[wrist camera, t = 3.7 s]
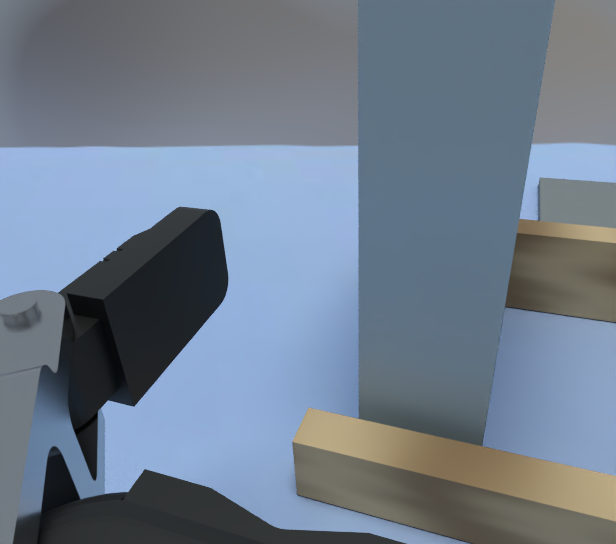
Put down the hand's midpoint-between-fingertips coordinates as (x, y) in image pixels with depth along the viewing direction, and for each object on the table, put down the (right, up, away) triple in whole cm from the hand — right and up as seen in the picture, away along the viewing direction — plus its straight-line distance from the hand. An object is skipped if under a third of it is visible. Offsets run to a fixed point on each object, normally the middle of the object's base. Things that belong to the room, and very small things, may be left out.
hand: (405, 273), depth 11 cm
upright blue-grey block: (+3, -4, +12) cm, 13 cm away
